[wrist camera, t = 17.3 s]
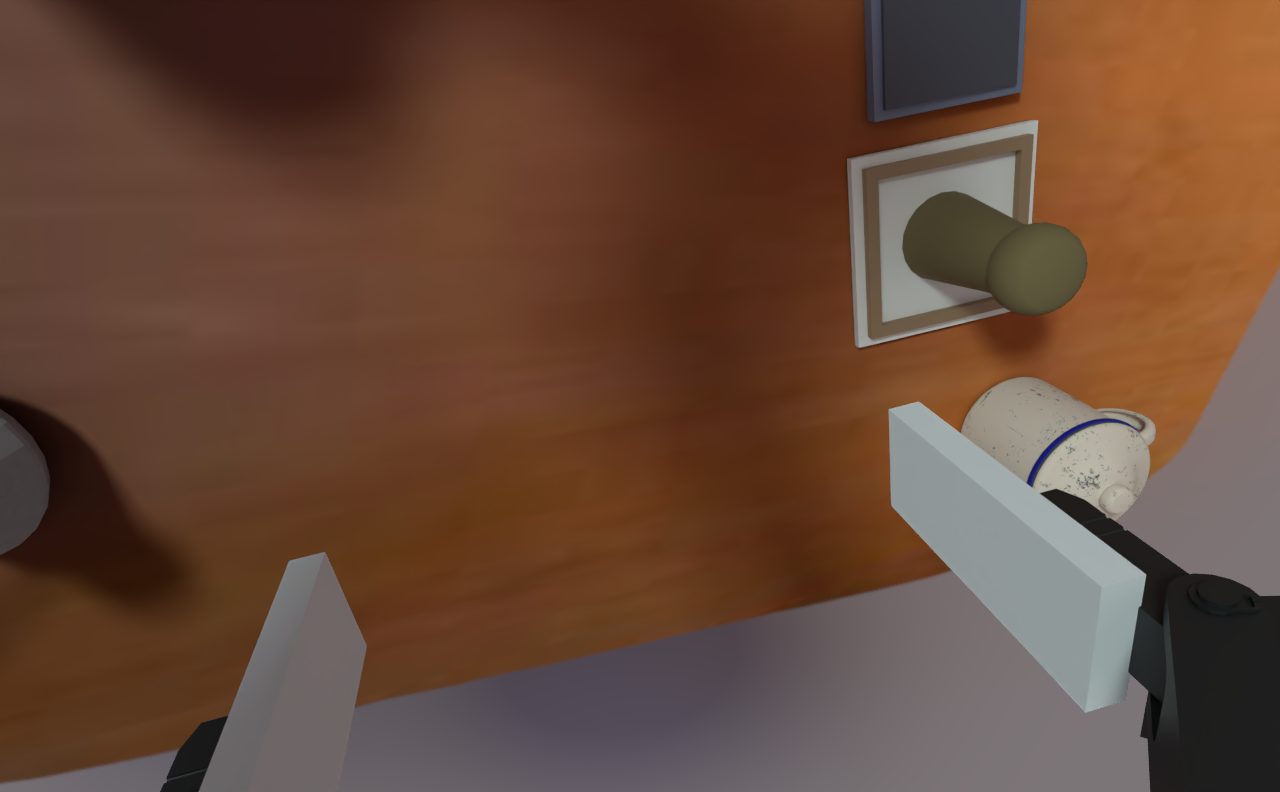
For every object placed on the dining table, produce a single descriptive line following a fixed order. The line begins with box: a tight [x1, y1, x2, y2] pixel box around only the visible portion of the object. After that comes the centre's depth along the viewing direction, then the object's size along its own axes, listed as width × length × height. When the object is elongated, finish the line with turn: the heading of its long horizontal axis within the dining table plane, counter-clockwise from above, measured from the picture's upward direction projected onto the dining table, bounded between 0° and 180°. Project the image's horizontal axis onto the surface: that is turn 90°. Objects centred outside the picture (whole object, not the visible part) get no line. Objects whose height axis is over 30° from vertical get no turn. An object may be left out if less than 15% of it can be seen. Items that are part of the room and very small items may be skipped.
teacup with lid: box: [961, 377, 1156, 521], centre depth 53 cm, size 12×9×12 cm
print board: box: [847, 120, 1038, 348], centre depth 50 cm, size 13×13×1 cm
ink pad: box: [864, 0, 1027, 122], centre depth 44 cm, size 10×10×1 cm
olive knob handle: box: [902, 191, 1087, 316], centre depth 45 cm, size 6×6×11 cm
